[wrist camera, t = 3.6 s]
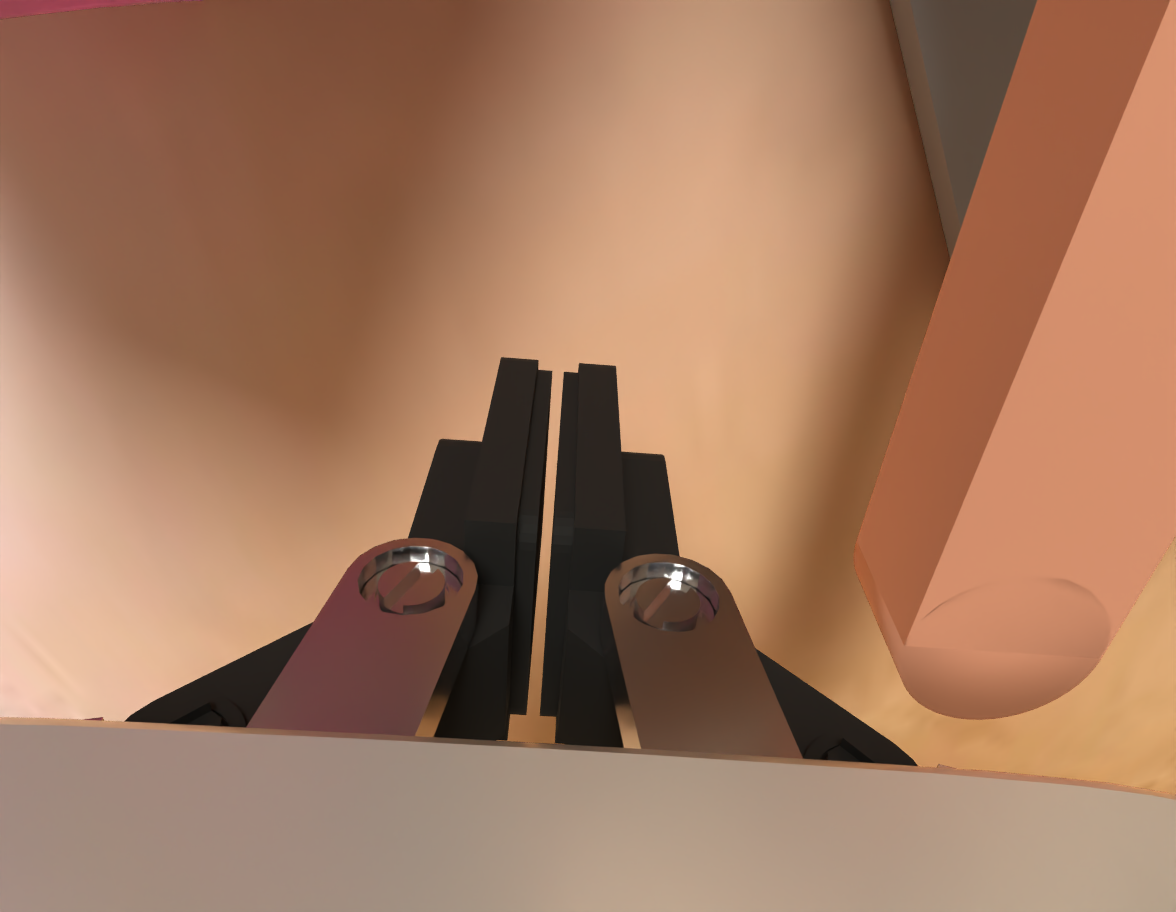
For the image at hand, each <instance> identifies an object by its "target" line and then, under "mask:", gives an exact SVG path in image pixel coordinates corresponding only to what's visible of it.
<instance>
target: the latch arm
mask: <svg viewBox="0 0 1176 912" xmlns="http://www.w3.org/2000/svg"><path fill="white" fill-rule="evenodd" d="M1175 536H1176V0H1037V2H1036V5H1035V8H1034V11H1033V14H1032V17H1031V20H1030V23H1029V26H1028V29H1027V32H1026V35H1025V38H1024V41H1023V44H1022V47H1021V50H1020V53H1019V56H1018V59H1017V62H1016V65H1015V68H1014V71H1013V74H1012V77H1011V80H1010V83H1009V86H1008V89H1007V92H1006V95H1005V98H1004V101H1003V104H1002V107H1001V110H1000V113H999V116H998V119H997V122H996V125H995V128H994V131H993V134H992V137H991V140H990V143H989V146H988V149H987V152H986V155H985V158H984V161H983V164H982V167H981V170H980V173H979V176H978V179H977V182H976V185H975V188H974V191H973V194H972V197H971V200H970V203H969V206H968V209H967V212H966V215H965V218H964V221H963V224H962V227H961V230H960V233H959V236H958V239H957V242H956V245H955V248H954V251H953V254H952V257H951V260H950V263H949V266H948V268H947V271H946V274H945V277H944V280H943V283H942V286H941V289H940V292H939V295H938V298H937V301H936V304H935V307H934V310H933V313H932V316H931V319H930V322H929V325H928V328H927V331H926V334H925V337H924V340H923V343H922V346H921V349H920V352H919V355H918V358H917V361H916V364H915V367H914V370H913V373H912V376H911V379H910V382H909V385H908V388H907V391H906V394H905V397H904V400H903V403H902V406H901V409H900V412H899V415H898V418H897V421H896V424H895V427H894V430H893V433H892V436H891V439H890V442H889V445H888V448H887V451H886V454H885V457H884V460H883V463H882V466H881V469H880V472H879V475H878V478H877V481H876V484H875V487H874V490H873V493H872V496H871V499H870V502H869V505H868V508H867V511H866V514H865V517H864V520H863V523H862V526H861V529H860V532H859V535H858V538H857V541H856V545H855V549H854V566H855V570H856V573H857V576H858V578H859V581H860V583H861V585H862V588H863V590H864V592H865V595H866V597H867V599H868V602H869V604H870V606H871V609H872V611H873V613H874V616H875V618H876V621H877V623H878V625H879V628H880V630H881V632H882V635H883V637H884V639H885V642H886V644H887V646H888V649H889V651H890V653H891V656H892V658H893V661H894V663H895V665H896V668H897V670H898V672H899V675H900V677H901V679H902V682H903V684H904V686H905V688H906V690H907V691H908V692H909V694H910V695H911V696H912V697H913V698H914V699H915V700H916V701H917V702H918V703H920V704H921V705H923V706H924V707H926V708H928V709H930V710H932V711H934V712H936V713H939V714H942V715H945V716H950V717H954V718H961V719H977V720H982V719H995V718H1002V717H1008V716H1012V715H1017V714H1021V713H1024V712H1027V711H1030V710H1033V709H1036V708H1038V707H1041V706H1043V705H1045V704H1047V703H1049V702H1051V701H1053V700H1055V699H1057V698H1059V697H1061V696H1062V695H1064V694H1065V693H1067V692H1069V691H1070V690H1071V689H1073V688H1074V687H1075V686H1077V685H1078V684H1079V683H1080V682H1081V681H1083V680H1084V679H1085V678H1086V677H1087V676H1088V675H1089V674H1090V673H1091V671H1092V670H1093V669H1094V668H1095V667H1096V665H1097V664H1098V663H1099V661H1100V660H1101V658H1102V657H1103V655H1104V653H1105V652H1106V650H1107V648H1108V647H1109V645H1110V643H1111V642H1112V640H1113V638H1114V637H1115V635H1116V633H1117V632H1118V630H1119V628H1120V627H1121V625H1122V624H1123V622H1124V620H1125V619H1126V617H1127V615H1128V614H1129V612H1130V610H1131V609H1132V607H1133V605H1134V604H1135V602H1136V600H1137V599H1138V597H1139V595H1140V594H1141V592H1142V591H1143V589H1144V587H1145V586H1146V584H1147V582H1148V581H1149V579H1150V577H1151V576H1152V574H1153V572H1154V571H1155V569H1156V567H1157V566H1158V564H1159V562H1160V561H1161V559H1162V558H1163V556H1164V554H1165V553H1166V551H1167V549H1168V548H1169V546H1170V544H1171V543H1172V541H1173V539H1174V538H1175Z"/></svg>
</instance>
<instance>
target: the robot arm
mask: <svg viewBox="0 0 1176 912" xmlns="http://www.w3.org/2000/svg"><path fill="white" fill-rule="evenodd" d="M551 383H552V371H546V370H538V360H530V359H517V358H504V357H501V360H500V365H499V369H498V374H497V378H496V382H495V387H494V391H493V396H492V400H491V404H490V409H489V413H488V418H487V422H486V427H485V431H484V435H483V440H482V442H478V441H464V440H450V439H441V440H439V443H438V445H437V448H436V451H435V454H434V457H433V461H432V464H431V467H430V470H429V473H428V476H427V480H426V483H425V486H424V489H423V492H422V495H421V498H420V502H419V505H418V508H417V511H416V514H415V517H414V521H413V524H412V527H411V530H410V533H409V536H408V538H407V539H399V540H393V541H390V542H387V543H384V544H381V545H378V546H375V547H373V548H372V549H370V550H368V551H367V552H365V553H363V554H362V555H360V556H359V557H358V558H357V559H356V560H355V561H354V562H353V563H352V564H351V566H350V567H349V568H348V569H347V571H346V572H345V574H344V575H343V577H342V579H341V580H340V582H339V583H338V585H337V586H336V588H335V589H334V591H333V593H332V594H331V596H330V597H329V599H328V600H327V602H326V603H325V605H324V607H323V608H322V610H321V611H320V613H319V614H318V616H317V617H316V619H315V621H314V622H312V623H310V624H308V625H306V626H304V627H302V628H300V629H298V630H296V631H294V632H292V633H290V634H288V635H286V636H284V637H282V638H280V639H278V640H276V641H274V642H272V643H270V644H268V645H266V646H264V647H262V648H260V649H258V650H256V651H254V652H252V653H250V654H248V655H246V656H244V657H242V658H240V659H238V660H236V661H234V662H231V663H229V664H227V665H225V666H223V667H221V668H219V669H217V670H215V671H213V672H211V673H209V674H207V675H205V676H203V677H201V678H199V679H197V680H195V681H193V682H191V683H189V684H187V685H185V686H183V687H181V688H179V689H177V690H175V691H173V692H171V693H169V694H167V695H165V696H163V697H161V698H159V699H157V700H155V701H153V702H151V703H150V704H148V705H146V706H145V707H143V708H142V709H140V710H138V711H137V712H135V713H133V714H132V715H131V716H129V717H128V718H127V719H126V720H125V721H124V722H122V721H104V719H103V717H100V718H92V719H84V720H78V719H55V718H18V717H0V912H1176V795H1175V794H1171V793H1166V792H1160V791H1155V790H1149V789H1143V788H1137V787H1131V786H1125V785H1119V784H1113V783H1106V782H1097V781H1087V780H1077V779H1066V778H1056V777H1046V776H1036V775H1026V774H1015V773H1005V772H995V771H983V770H966V769H956V768H952V767H948V766H944V765H940V764H938V766H937V768H934V767H920V766H917V764H916V763H915V762H914V760H913V759H912V758H911V757H909V756H908V755H907V754H906V753H905V752H904V751H902V750H901V749H900V748H899V747H898V746H897V745H895V744H894V743H893V742H891V741H890V740H888V739H887V738H885V737H884V736H883V735H881V734H880V733H878V732H877V731H875V730H874V729H872V728H871V727H869V726H868V725H867V724H865V723H864V722H862V721H861V720H859V719H858V718H856V717H855V716H853V715H852V714H850V713H849V712H848V711H846V710H845V709H843V708H842V707H840V706H839V705H837V704H836V703H834V702H833V701H831V700H830V699H829V698H827V697H826V696H824V695H823V694H821V693H820V692H818V691H817V690H815V689H814V688H813V687H811V686H810V685H808V684H807V683H805V682H804V681H802V680H801V679H799V678H798V677H796V676H795V675H794V674H792V673H791V672H789V671H788V670H786V669H785V668H783V667H782V666H780V665H779V664H778V663H776V662H775V661H773V660H772V659H770V658H769V657H767V656H766V655H764V654H763V653H761V652H760V651H759V650H757V649H756V648H755V647H754V645H753V642H752V640H751V638H750V635H749V633H748V631H747V629H746V626H745V624H744V622H743V619H742V617H741V615H740V612H739V610H738V608H737V606H736V603H735V601H734V599H733V596H732V594H731V592H730V591H729V589H728V588H727V586H726V585H725V583H724V582H723V580H722V579H721V578H720V577H719V576H717V575H716V574H715V573H714V572H713V571H711V570H710V569H709V568H707V567H705V566H703V565H701V564H699V563H697V562H695V561H693V560H690V559H687V558H683V557H680V556H679V550H678V543H677V536H676V530H675V523H674V516H673V509H672V503H671V496H670V489H669V483H668V476H667V469H666V462H665V458H664V456H663V455H660V454H646V453H632V452H621V440H620V424H619V407H618V391H617V375H616V366H609V365H596V364H583V363H579V369H578V373H573V372H564V379H563V392H562V406H561V420H560V434H559V447H558V461H557V475H556V489H555V502H554V516H553V530H552V544H551V559H550V574H549V589H548V604H547V618H546V633H545V648H544V663H543V678H542V693H541V707H540V716H554V717H556V733H555V743H559V744H546V743H528V742H510V741H507V738H508V729H509V719H510V714H519V715H526V712H527V701H528V689H529V678H530V666H531V654H532V642H533V631H534V619H535V607H536V596H537V584H538V572H539V561H540V549H541V537H542V523H543V508H544V492H545V477H546V461H547V445H548V430H549V414H550V399H551ZM496 740H505V741H496ZM563 744H565V745H563Z"/></svg>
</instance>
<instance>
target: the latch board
mask: <svg viewBox="0 0 1176 912" xmlns="http://www.w3.org/2000/svg"><path fill="white" fill-rule="evenodd" d="M889 1H890V5H891V9H892V14H893V18H894V22H895V26H896V31H897V35H898V39H899V43H900V48H901V52H902V56H903V60H904V65H905V69H906V73H907V78H908V82H909V86H910V90H911V95H912V99H913V103H914V107H915V112H916V116H917V120H918V124H919V129H920V133H921V137H922V141H923V146H924V150H925V154H926V159H927V163H928V167H929V171H930V176H931V180H932V184H933V188H934V193H935V197H936V201H937V205H938V210H939V214H940V218H941V223H942V227H943V231H944V235H945V240H946V244H947V248H948V252H949V257H950V260H951V257H952V254H953V251H954V248H955V245H956V242H957V239H958V236H959V233H960V230H961V227H962V224H963V221H964V218H965V215H966V212H967V209H968V206H969V203H970V200H971V197H972V194H973V191H974V188H975V185H976V182H977V179H978V176H979V173H980V170H981V167H982V164H983V161H984V158H985V155H986V152H987V149H988V146H989V143H990V140H991V137H992V134H993V131H994V128H995V125H996V122H997V119H998V116H999V113H1000V110H1001V107H1002V104H1003V101H1004V98H1005V95H1006V92H1007V89H1008V86H1009V83H1010V80H1011V77H1012V74H1013V71H1014V68H1015V65H1016V62H1017V59H1018V56H1019V53H1020V50H1021V47H1022V44H1023V41H1024V38H1025V35H1026V32H1027V29H1028V26H1029V23H1030V20H1031V17H1032V14H1033V11H1034V8H1035V5H1036V2H1037V0H889Z"/></svg>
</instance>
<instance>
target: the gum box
mask: <svg viewBox="0 0 1176 912" xmlns="http://www.w3.org/2000/svg"><path fill="white" fill-rule="evenodd" d="M181 1H202V0H0V19H7V18H14V17H22V16H31V15H39V14H46V13H56V12H66V11H75V10H83V9H91V8H100V7H115V6H131V5H141V4H152V3H161V2H181Z"/></svg>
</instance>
